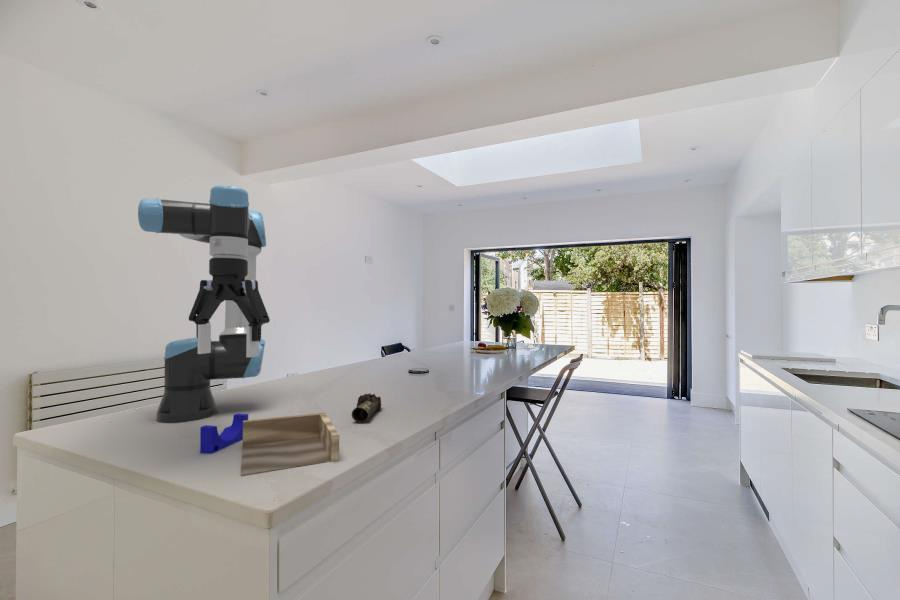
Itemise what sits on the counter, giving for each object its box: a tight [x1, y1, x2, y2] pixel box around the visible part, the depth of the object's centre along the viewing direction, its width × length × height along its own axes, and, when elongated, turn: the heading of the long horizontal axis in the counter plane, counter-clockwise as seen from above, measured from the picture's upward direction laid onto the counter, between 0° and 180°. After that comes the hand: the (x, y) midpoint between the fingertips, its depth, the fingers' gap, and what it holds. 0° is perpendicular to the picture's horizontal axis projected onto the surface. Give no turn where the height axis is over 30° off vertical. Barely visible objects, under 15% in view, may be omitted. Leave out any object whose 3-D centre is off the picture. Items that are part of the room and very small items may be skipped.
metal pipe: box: [351, 392, 382, 424], centre depth 125 cm, size 18×7×6 cm, turn 175°
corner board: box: [240, 412, 340, 477], centre depth 94 cm, size 20×18×6 cm
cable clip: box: [199, 413, 249, 455], centre depth 100 cm, size 12×4×6 cm, turn 169°
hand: (227, 355), depth 93 cm, fingers open, 13 cm apart
